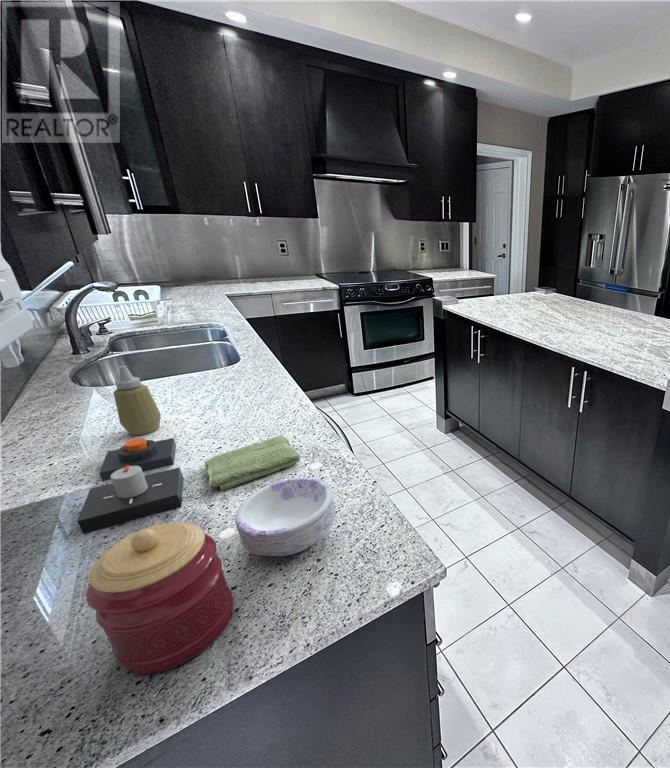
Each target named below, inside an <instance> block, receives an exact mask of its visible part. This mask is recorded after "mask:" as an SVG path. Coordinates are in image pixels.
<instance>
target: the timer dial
mask: <svg viewBox="0 0 670 768" xmlns="http://www.w3.org/2000/svg"><path fill="white" fill-rule="evenodd" d="M144 476H145V474H144V472H142V469H141V467H139V466H130V465H127V466H125V468H122V469H119V470H117V471H115V472H114V473H112V474H111V476H110V477H111V479H110V480H111V481H112V483H113V485H114V487H115V490H116V492H117V494H118V497H120V498H131V497H134V496H137V495H140V494H141V493H143V492H145V491H146V490H147V488H148V485H147V483H146V480H145V477H144Z"/></svg>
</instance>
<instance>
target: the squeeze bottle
mask: <svg viewBox="0 0 670 768" xmlns="http://www.w3.org/2000/svg"><path fill="white" fill-rule="evenodd" d="M118 367H119V368H118V369H119V378H118V379H117V380H116V381H114V384H115V387H116V389H115V390H113V397H114V401H115V406H116V410H117V416H118V419H119V424H120V425H121V426H122V428H123V429H125V431H126V432H128V433H129V435H131V436H143V435H148V434H151V433H154V432H155V431H157V430H158V429H159V428H160V423H161V416H162V414H161V412H160V410H159V408H158V406H157V404H156V402H155V400H154V398H153V395H152V393H151V392H150V389H149V387H148V385H145V384H143V383H142V381H141V378H140V377H138V376H133V374H132V373H131V371H130V370H129V369H128V366H126V365H119V366H118ZM156 429H157V430H156Z"/></svg>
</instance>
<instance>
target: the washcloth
mask: <svg viewBox="0 0 670 768" xmlns="http://www.w3.org/2000/svg"><path fill="white" fill-rule="evenodd" d="M300 460H301V457H300V455H299V453H298V452H297V451H295V449H294V448H293V447H291V444H290V442H289V438H287V437H285V436H283V435H276V436H273V437H271V438H268V439H266V440H264V441H260V442H255V443H252V444H249V445H246V446H243V447H240V448H237V449H235V450H231V451H227V452H222V453H219V454H217V455H214V456H212V457H210V458H209V459H208V460H206V461H205V462H204V471H205V472H204V474H205V475H206V477H207V478H208V479H209V480H208V484H209V487H210V488H217V487H219V488H220V491H224V490H229V489H231V488H234V487H237V486H239V485H243V484H246V483H248V482H249V481H252V480H256V479H259V478H260V477H264V476H267V475H271V474H272V473H275V472H278V471H279V470H280V471H281V470H283V469H286V468H289V467H291V466H294V465H296V464H297V463H298V462H300Z"/></svg>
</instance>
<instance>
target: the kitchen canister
mask: <svg viewBox="0 0 670 768" xmlns="http://www.w3.org/2000/svg"><path fill="white" fill-rule="evenodd" d="M88 582H89V584H88V586H87V589H86V594H85V600H86V603H87V605H88V606H89V607H90V608H91V609H93V610H94V611H95V619H96V622H97V623H98V625H99V626H100V628H102V629H103V631H104V633H105V635H106V637H107V640H108V641H109V643H110V646H111V648H112V655H113V656H114V658H115V660H116V661H117V663H118V664H119V665H120V666H122V667H123V668H124V669H126V670H127V671H129V673H133V674H136V675H153V674H158V673H159V674H160V673H163V672H166V671H169V670H173V669H174V668H177V667H179V666H181V665H184V664H186V663H188V662H189V661H190V660H192V659H194V658H195V657H197V656H198V655H200V654H201V653H203V652H204V651H206V650H207V649H208V648H209V647H210V646H212V644H213V643H214V642H216V641H217V639H218V638H219V637H220V636H221V635H222V634H223V632H224V631H225V630H226V628H227V627H228V625H229V623H230V621H231V618H232V615H233V609H234V606H233V605H234V598H233V595H232V590H231V589H230V587H229V586H228V584H227V581H226V576H225V574H224V570H223V563H222V560H221V558H220V556H219V555H218V554H217V542H216V540H215V539H214V538H213V537H212V536H211V535H209V534H207V533H205V531H204V530H203V528H202V527H200V526H199V525H198V524H195V523H190V522H171V523H161V524H156V525H152V526H148V527H146V528H143V529H140V530H138V531H135V532H133V533H131V534H129V535H128V536H126V537H124V538H122V539H121V540H119V541H118V542H116V543H115V544H113V546H111V547H110V548H109V549H107V550H106V551H105V552H104V553H103V554H102V555H100V557H99V558H98V559H97V560H96V561H95V562H94V564H93V565H92V567H90V571H89V573H88Z"/></svg>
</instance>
